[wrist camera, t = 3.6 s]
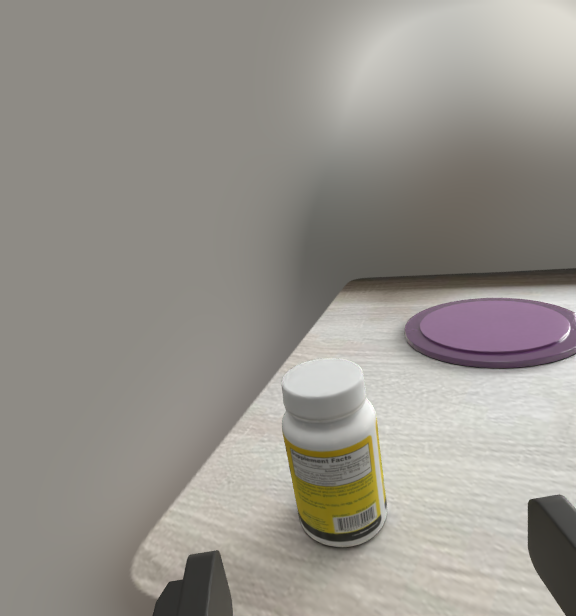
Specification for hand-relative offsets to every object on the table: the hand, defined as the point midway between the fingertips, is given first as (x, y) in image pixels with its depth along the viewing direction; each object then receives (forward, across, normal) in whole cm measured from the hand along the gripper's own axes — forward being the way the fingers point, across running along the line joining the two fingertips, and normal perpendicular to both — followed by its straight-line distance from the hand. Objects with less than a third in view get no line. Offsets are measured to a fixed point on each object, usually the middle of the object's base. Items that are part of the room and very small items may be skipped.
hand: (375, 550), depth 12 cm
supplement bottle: (+11, 0, +9) cm, 14 cm away
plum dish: (+31, -18, +9) cm, 37 cm away
